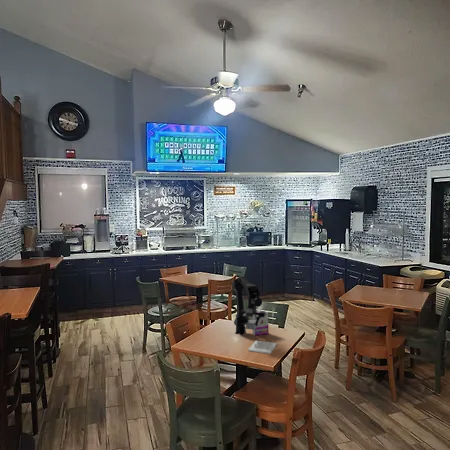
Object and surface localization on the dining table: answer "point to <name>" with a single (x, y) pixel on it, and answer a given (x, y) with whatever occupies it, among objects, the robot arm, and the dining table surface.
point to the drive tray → (262, 347)
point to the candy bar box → (261, 325)
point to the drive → (251, 324)
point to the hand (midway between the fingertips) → (252, 325)
